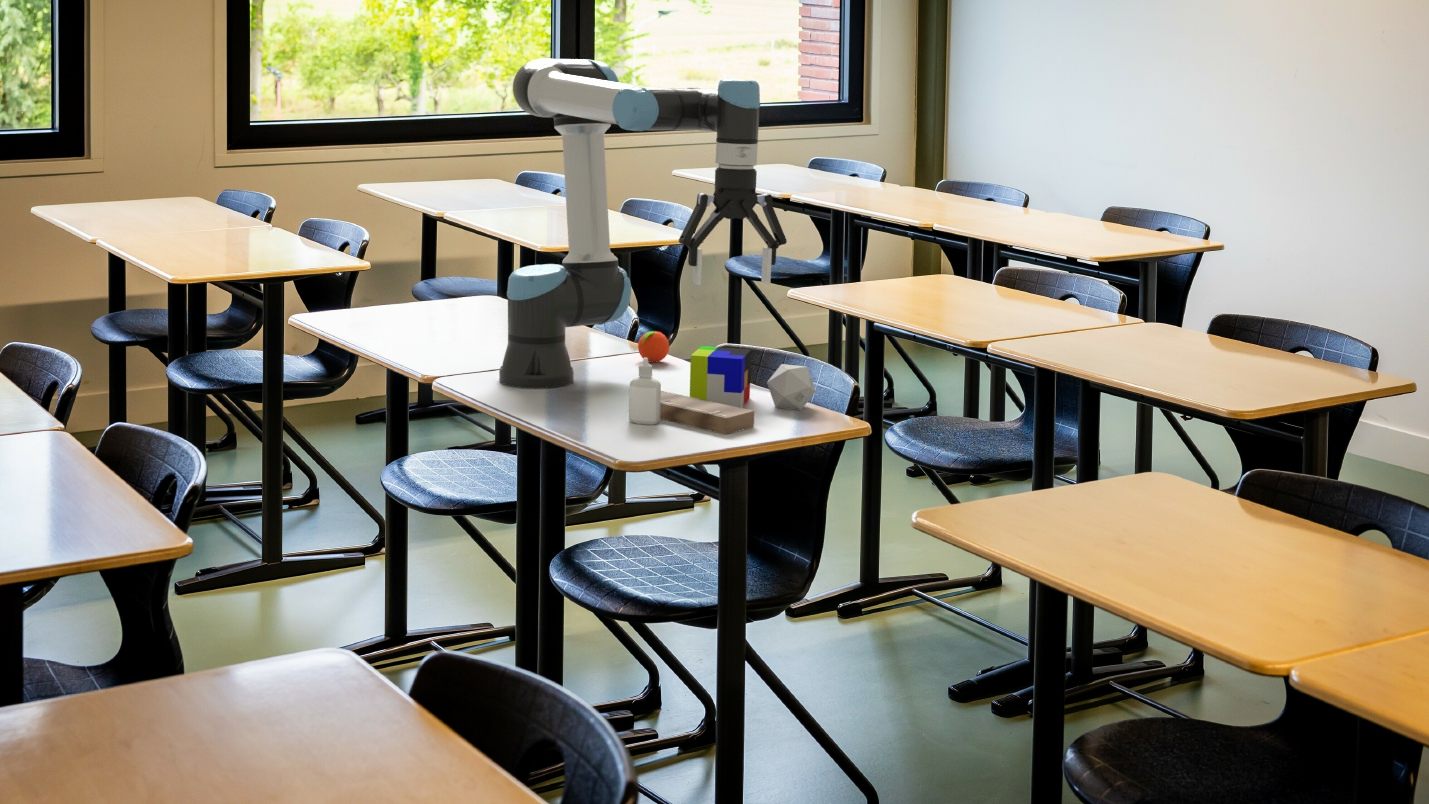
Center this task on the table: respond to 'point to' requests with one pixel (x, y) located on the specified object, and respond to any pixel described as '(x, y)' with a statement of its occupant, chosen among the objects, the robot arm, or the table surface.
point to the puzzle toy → (721, 375)
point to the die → (791, 386)
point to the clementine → (653, 346)
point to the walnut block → (704, 414)
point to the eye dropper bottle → (645, 397)
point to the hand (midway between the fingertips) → (731, 283)
